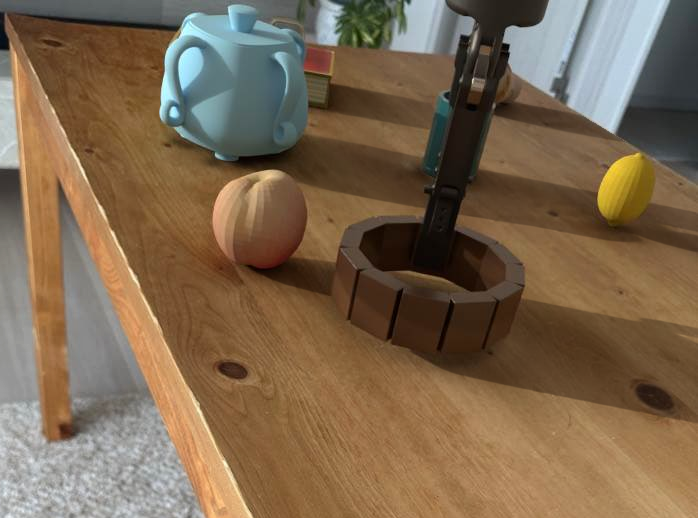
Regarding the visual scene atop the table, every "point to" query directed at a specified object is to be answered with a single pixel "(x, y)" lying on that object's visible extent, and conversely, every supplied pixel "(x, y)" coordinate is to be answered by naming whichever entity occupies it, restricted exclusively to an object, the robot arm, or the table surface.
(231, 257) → the fruit
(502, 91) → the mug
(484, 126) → the tumbler
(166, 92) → the decorative pot
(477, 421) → the table surface
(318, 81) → the hardcover book
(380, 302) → the ring
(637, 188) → the lemon
